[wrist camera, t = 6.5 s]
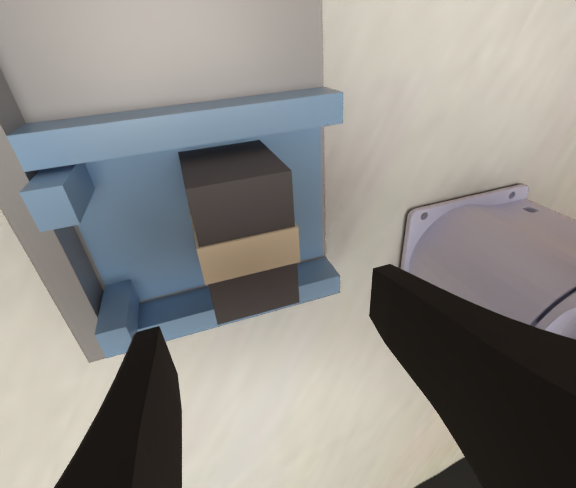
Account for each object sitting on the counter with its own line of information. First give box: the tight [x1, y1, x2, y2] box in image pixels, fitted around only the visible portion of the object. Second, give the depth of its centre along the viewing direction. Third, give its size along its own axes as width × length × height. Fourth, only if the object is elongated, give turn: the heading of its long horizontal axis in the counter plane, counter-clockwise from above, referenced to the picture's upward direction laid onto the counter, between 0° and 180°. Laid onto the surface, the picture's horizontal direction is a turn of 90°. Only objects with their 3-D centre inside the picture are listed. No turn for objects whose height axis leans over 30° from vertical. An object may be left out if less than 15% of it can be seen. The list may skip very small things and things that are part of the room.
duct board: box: [0, 0, 343, 363], centre depth 13 cm, size 13×20×4 cm, turn 4°
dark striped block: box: [178, 140, 300, 325], centre depth 15 cm, size 4×6×5 cm, turn 4°
